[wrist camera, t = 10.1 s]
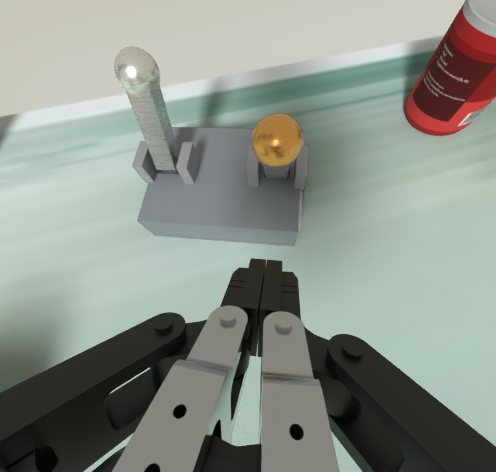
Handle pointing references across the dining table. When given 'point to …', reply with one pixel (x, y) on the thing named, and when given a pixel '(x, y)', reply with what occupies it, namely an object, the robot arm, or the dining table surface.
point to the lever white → (148, 106)
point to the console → (221, 190)
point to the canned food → (458, 73)
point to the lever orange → (276, 144)
